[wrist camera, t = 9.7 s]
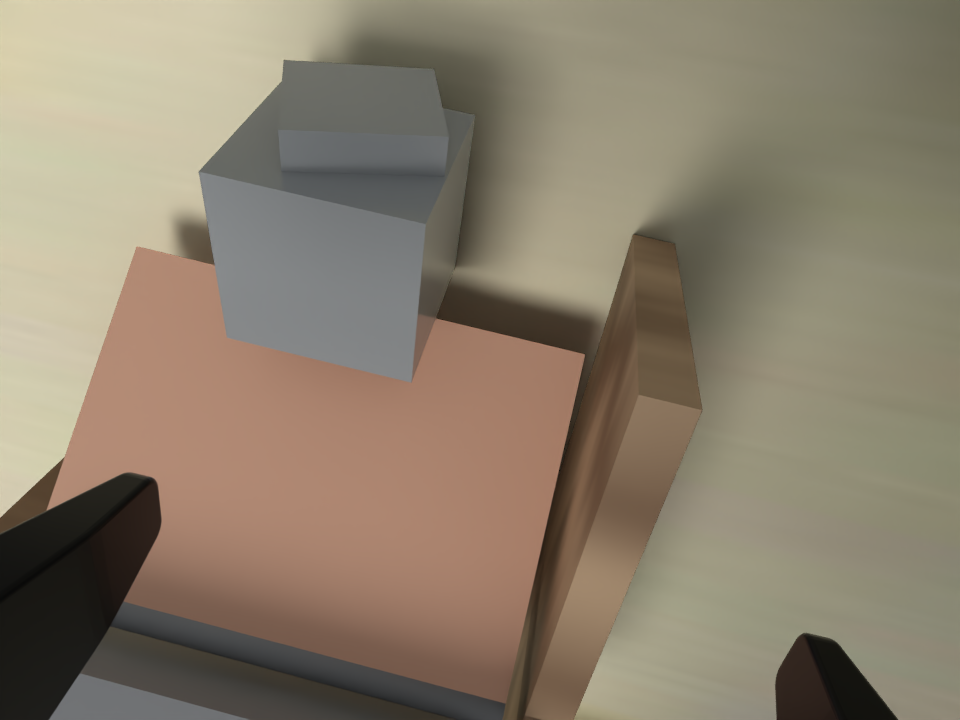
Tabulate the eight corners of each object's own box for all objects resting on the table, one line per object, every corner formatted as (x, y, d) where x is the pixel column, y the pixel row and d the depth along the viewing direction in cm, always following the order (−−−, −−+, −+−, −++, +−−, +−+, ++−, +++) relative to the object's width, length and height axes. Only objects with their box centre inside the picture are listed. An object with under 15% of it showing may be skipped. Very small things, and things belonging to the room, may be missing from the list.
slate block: (411, 382, 19) (429, 183, 15) (227, 337, 19) (191, 129, 15) (455, 266, 22) (480, 77, 18) (298, 229, 23) (286, 34, 18)
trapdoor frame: (537, 645, 30) (510, 871, 23) (145, 543, 31) (0, 728, 24) (674, 243, 21) (702, 409, 14) (108, 112, 22) (-150, 203, 14)
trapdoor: (460, 862, 21) (452, 973, 17) (23, 740, 22) (-109, 812, 17) (573, 370, 24) (595, 339, 19) (177, 274, 25) (99, 220, 20)
